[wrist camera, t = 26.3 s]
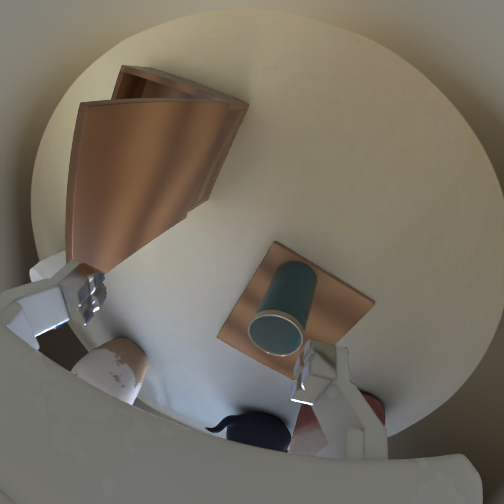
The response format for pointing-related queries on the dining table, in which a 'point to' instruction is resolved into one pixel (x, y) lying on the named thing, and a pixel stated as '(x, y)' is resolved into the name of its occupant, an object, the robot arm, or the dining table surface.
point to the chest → (171, 86)
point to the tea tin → (284, 310)
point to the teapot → (255, 431)
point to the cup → (48, 267)
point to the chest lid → (134, 172)
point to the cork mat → (320, 317)
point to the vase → (114, 368)
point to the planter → (310, 432)
